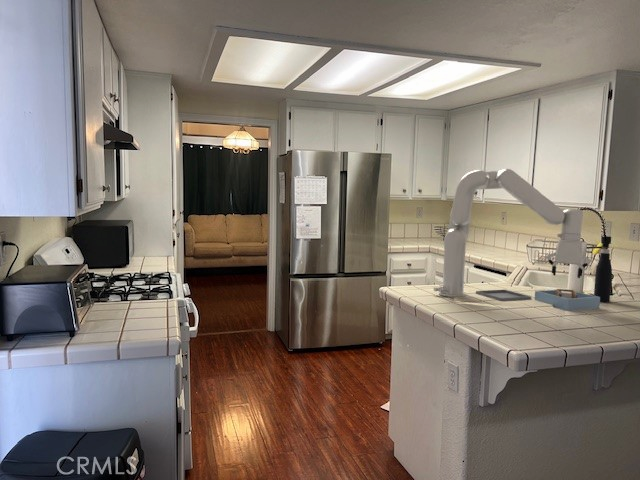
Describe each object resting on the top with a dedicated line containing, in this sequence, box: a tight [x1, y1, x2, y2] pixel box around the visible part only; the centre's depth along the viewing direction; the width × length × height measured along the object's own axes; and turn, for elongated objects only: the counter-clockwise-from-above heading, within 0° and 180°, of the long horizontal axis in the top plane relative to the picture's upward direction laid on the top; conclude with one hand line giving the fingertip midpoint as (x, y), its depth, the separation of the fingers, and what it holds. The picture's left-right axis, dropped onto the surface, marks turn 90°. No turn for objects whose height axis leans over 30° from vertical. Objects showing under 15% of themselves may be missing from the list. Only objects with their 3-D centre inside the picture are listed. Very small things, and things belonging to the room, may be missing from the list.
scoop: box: [555, 288, 577, 298], centre depth 212 cm, size 7×12×5 cm, turn 159°
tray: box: [475, 289, 532, 302], centre depth 223 cm, size 17×17×2 cm
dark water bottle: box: [593, 235, 613, 303], centre depth 222 cm, size 6×6×30 cm
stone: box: [560, 291, 572, 299], centre depth 212 cm, size 4×4×4 cm
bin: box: [534, 289, 601, 312], centre depth 212 cm, size 18×18×5 cm
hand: (566, 276), depth 211 cm, fingers open, 9 cm apart
